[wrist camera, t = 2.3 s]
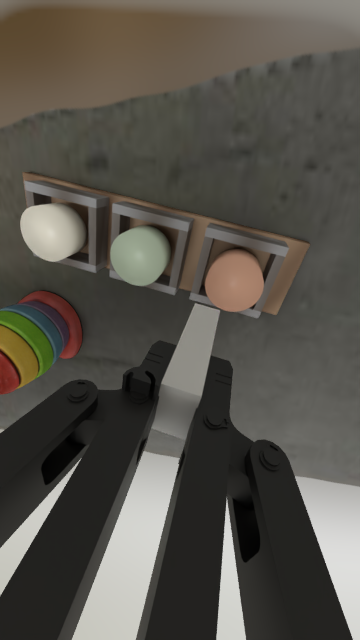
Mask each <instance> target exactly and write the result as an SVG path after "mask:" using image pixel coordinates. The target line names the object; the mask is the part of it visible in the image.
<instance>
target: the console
mask: <svg viewBox="0 0 360 640" xmlns="http://www.w3.org/2000/svg"><path fill="white" fill-rule="evenodd" d="M22 173H23V181H24V188H25V196H26V204H27V208H29V207H31V206H37V205H44V204H51V203H64V204H67V205H69V206H71V207H72V208H73V209H75V210H76V211H77V212H78V214H79V215H80V216H81V218H82V219H83V221H84V223H85V226H86V230H87V241H86V244H85V246H84V247H83V249H82V250H81V251H79V252H77V253H75V254H73V255H71V256H68V257H66V258H64V259H62V260H60V261H55V262H58V263H62V264H65V265H69V266H72V267H76V268H80V269H83V270H87V271H90V272H94V273H96V272H98V271H99V270H101V269H102V268H104V267H105V268H108V269H110V275H109V277H112V278H115V279H119V280H122V281H125V280H123V279H122V278H121V277H120V276H119V275H118V274H117V273H116V271H115V269H114V268H113V265H112V262H111V257H110V251H111V246H112V244H113V242H114V240H115V239H116V238H117V237H118V236H119V235H120V234H122V233H124V232H126V231H128V230H130V229H132V228H134V227H137V226H140V225H149V226H153V227H155V228H157V229H158V230H160V231H161V232H162V233H163V234H164V235H165V236H166V238H167V239H168V241H169V244H170V247H171V259H170V262H169V264H168V266H167V267H166V269H165V270H164V271H163V272H162V274H161V275H160V276H159V277H158V278H157V279H156V280H155V281H154V282H153V283H151V284H149V285H145V286H144V287H147V288H151V289H155V290H158V291H162V292H165V293H169V294H172V295H175V294H176V292H177V290H178V288H181V289H184V290H188V291H191V294H190V298H189V299H190V300H194V301H197V302H201V303H205V304H208V305H212V306H215V305H214V304H213V303H212V302H211V301H210V299H209V298H208V296H207V294H206V290H205V281H206V277H207V274H208V271H209V269H210V266H211V264H212V262H213V260H214V259H215V258H216V257H217V256H218V255H219V254H220V253H222V252H224V251H226V250H230V249H242V250H246V251H248V252H250V253H251V254H253V255H254V256H255V257H256V258H257V260H258V261H259V263H260V266H261V270H262V275H263V280H264V288H263V292H262V295H261V297H260V298H259V300H258V301H257V302H256V303H255V304H254V305H253V306H251V307H250V308H248V309H245V310H243V311H237V313H240V314H244V315H248V316H251V317H255V318H259V316H260V314H261V311H264V312H267V313H271V314H274V315H277V312H278V310H279V308H280V306H281V304H282V302H283V300H284V298H285V296H286V294H287V292H288V290H289V288H290V285H291V283H292V281H293V279H294V277H295V275H296V273H297V271H298V269H299V267H300V265H301V263H302V261H303V258H304V256H305V254H306V252H307V250H308V248H309V246H310V243H309V242H307V241H303V240H299V239H295V238H291V237H287V236H283V235H279V234H275V233H271V232H267V231H263V230H259V229H255V228H251V227H247V226H243V225H239V224H235V223H231V222H227V221H223V220H219V219H215V218H211V217H207V216H203V215H199V214H195V213H191V212H187V211H183V210H179V209H175V208H171V207H167V206H163V205H159V204H155V203H151V202H147V201H143V200H139V199H135V198H131V197H127V196H123V195H119V194H115V193H111V192H107V191H103V190H99V189H95V188H91V187H87V186H83V185H79V184H75V183H71V182H67V181H63V180H59V179H55V178H51V177H47V176H43V175H39V174H35V173H31V172H22ZM33 253H34V252H33ZM34 256H37V255H36V254H35V253H34ZM37 257H39V256H37ZM215 307H217V306H215Z"/></svg>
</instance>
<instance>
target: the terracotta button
mask: <svg viewBox="0 0 360 640" xmlns="http://www.w3.org/2000/svg"><path fill="white" fill-rule="evenodd" d="M263 288H264V280H263V275H262V270H261V266H260V263H259V261H258V260H257V258H256V257H255V256H254V255H253V254H251V253H250V252H248V251H246V250H242V249H230V250H226V251H224V252H222V253H220V254H219V255H218V256H217V257H216V258H215V259H214V260H213V262H212V264H211V266H210V269H209V271H208V274H207V277H206V281H205V290H206V294H207V296H208V298H209V299H210V301H211V302H212V303H213V304H214V305H215V306H217V307H218V308H220V309H222V310H225V311H230V312H237V311H243V310H245V309H248V308H250V307H251V306H253V305H254V304H255V303H256V302H257V301H258V300H259V298H260V297H261V295H262V292H263Z"/></svg>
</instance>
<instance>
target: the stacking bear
mask: <svg viewBox="0 0 360 640" xmlns="http://www.w3.org/2000/svg"><path fill="white" fill-rule="evenodd" d="M81 343H82V328H81V324H80V321H79V318H78V316H77V314H76V312H75V311H74V309H73V308H72V307H71V305H70V304H69V303H68V302H66V301H65V300H64V299H63V298H61V297H59V296H58V295H56V294H53V293H50V292H46V291H36V292H33V293H31V294H29V295H27V296H25V297H24V298H23V299H21V300H20V301H19V302H18V303H17V304H16V305H11V306H8V307H5V308H2V309H0V394H7V393H10V392H13V391H14V390H15V389H18V388H20V387H22V386H24V385H26V384H27V383H29V382H31V381H32V380H34V379H36V378H38V377H39V376H41V375H42V374H43V373H45V372H46V371H47V370H48V369H49V368H50V367H51V366H52V365H53V364H54V363H55V362H56V360H57V359H58V358H59V357H61V358H64V359H66V358H72V357H74V356H75V355H76V354H77V353H78V351H79V349H80V346H81Z"/></svg>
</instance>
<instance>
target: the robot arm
mask: <svg viewBox="0 0 360 640" xmlns="http://www.w3.org/2000/svg"><path fill="white" fill-rule="evenodd" d="M219 314H220V310H217V309H214V308H210V307H207V306H203V305H200V304H196V303H195V305H194V307H193V309H192V312H191V314H190V316H189V319H188V321H187V324H186V326H185V328H184V331H183V333H182V335H181V338H180V340H179V342H178V345H177V346H176V345H173V344H170V343H167V342H163V341H158V342H157V343H155V344H153V345H152V347H151V348H150V350H149V352H148V354H147V355H146V357H145V359H144V361H143V362H142V364H141V366H140V367H134V368H131V369H129V370H127V371H126V372H125V373H124V374H123V383H122V389H119V390H98V389H97V386H96V385H95V384H94V383H93V382H90V381H88V380H75V381H71V382H69V383H67V384H65V385H64V386H63V387H61V388H60V389H59V390H57V391H56V392H55V393H53V394H52V395H51V396H49V397H48V398H47V399H45V400H44V401H43V402H41V403H40V404H39V405H37V406H36V407H35V408H33V409H32V410H31V411H29V412H28V413H27V414H25V415H24V416H23V417H21V418H20V419H19V420H17V421H16V422H15V423H13V424H12V425H11V426H9V427H8V428H7V429H6V430H4V431H3V432H2V433H0V548H1V547H2V545H3V544H4V543H5V542H6V541H7V540H8V539H9V538H10V537H11V535H12V534H13V533H14V532H15V531H16V530H17V529H18V528H19V526H20V525H21V524H22V523H23V522H24V521H25V520H26V519H27V518H28V517H29V515H30V514H31V513H32V512H33V511H34V510H35V509H36V508H37V507H38V505H39V504H40V503H41V502H42V501H43V500H44V499H45V498H46V497H47V495H48V494H49V493H50V492H51V491H52V490H53V489H54V488H55V487H56V485H57V484H58V483H59V482H60V481H61V480H62V479H63V478H64V477H65V476H66V474H67V473H68V472H69V471H70V470H71V469H72V468H73V467H74V466H75V464H76V463H77V462H78V461H79V460H80V459H81V458H82V459H81V461H80V462H79V464H78V466H77V467H76V469H75V471H74V472H73V474H72V476H71V477H70V479H69V481H68V482H67V484H66V486H65V487H64V489H63V491H62V493H61V495H60V496H59V498H58V500H57V501H56V503H55V504H54V506H53V508H52V509H51V511H50V513H49V515H48V516H47V518H46V520H45V521H44V523H43V525H42V527H41V528H40V530H39V532H38V533H37V535H36V537H35V538H34V540H33V542H32V543H31V545H30V547H29V548H28V550H27V552H26V554H25V555H24V557H23V559H22V560H21V562H20V564H19V565H18V567H17V569H16V570H15V572H14V574H13V576H12V577H11V579H10V581H9V582H8V584H7V586H6V587H5V589H4V591H3V593H2V594H1V596H0V640H72V637H73V635H74V632H75V629H76V627H77V624H78V622H79V619H80V616H81V613H82V611H83V608H84V606H85V603H86V600H87V598H88V595H89V592H90V590H91V587H92V584H93V582H94V579H95V577H96V574H97V571H98V569H99V566H100V564H101V561H102V558H103V556H104V553H105V551H106V548H107V545H108V542H109V540H110V537H111V535H112V532H113V530H114V527H115V524H116V522H117V519H118V517H119V514H120V511H121V509H122V506H123V503H124V501H125V498H126V496H127V493H128V490H129V488H130V485H131V482H132V480H133V477H134V475H135V472H136V469H137V467H138V464H139V461H140V459H141V456H142V453H143V451H144V448H145V446H146V443H147V440H148V435H149V432H150V429H151V427H152V429H155V430H158V431H161V432H163V433H166V434H169V435H172V436H175V437H178V438H180V439H183V440H186V442H185V446H184V449H183V452H182V454H181V457H180V460H179V463H178V464H179V467H178V471H177V475H176V479H175V483H174V487H173V491H172V495H171V499H170V504H169V508H168V512H167V516H166V520H165V524H164V528H163V532H162V536H161V540H160V544H159V548H158V552H157V556H156V560H155V565H154V569H153V573H152V577H151V581H150V585H149V589H148V593H147V597H146V601H145V605H144V609H143V613H142V617H141V621H140V626H139V629H138V634H137V638H136V640H216V634H217V620H218V607H219V592H220V579H221V566H222V552H223V538H224V524H225V511H226V498H227V500H228V507H229V514H230V522H231V530H232V537H233V545H234V552H235V559H236V567H237V574H238V582H239V589H240V597H241V604H242V611H243V619H244V626H245V634H246V640H353V639H352V636H351V633H350V630H349V628H348V625H347V622H346V619H345V616H344V614H343V611H342V608H341V605H340V602H339V600H338V597H337V594H336V591H335V589H334V585H333V583H332V580H331V577H330V575H329V571H328V569H327V566H326V563H325V560H324V558H323V555H322V552H321V549H320V546H319V543H318V541H317V538H316V535H315V532H314V530H313V527H312V524H311V521H310V518H309V516H308V513H307V510H306V507H305V504H304V501H303V499H302V496H301V493H300V490H299V487H298V485H297V482H296V479H295V476H294V473H293V471H292V468H291V465H290V462H289V460H288V458H287V456H286V454H285V453H284V452H283V451H282V449H281V448H280V447H279V446H277V445H276V444H274V443H273V442H271V441H267V440H257V441H256V442H253V441H251V440H250V439H249V438H247V437H246V436H244V435H243V434H241V433H240V432H239V431H238V430H237V429H236V428H235V427H234V425H233V424H232V422H231V419H230V415H229V409H230V398H231V385H232V374H233V369H232V366H231V364H230V362H229V361H227V360H224V359H220V358H217V357H214V356H211V351H212V346H213V341H214V337H215V332H216V328H217V323H218V318H219Z"/></svg>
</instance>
